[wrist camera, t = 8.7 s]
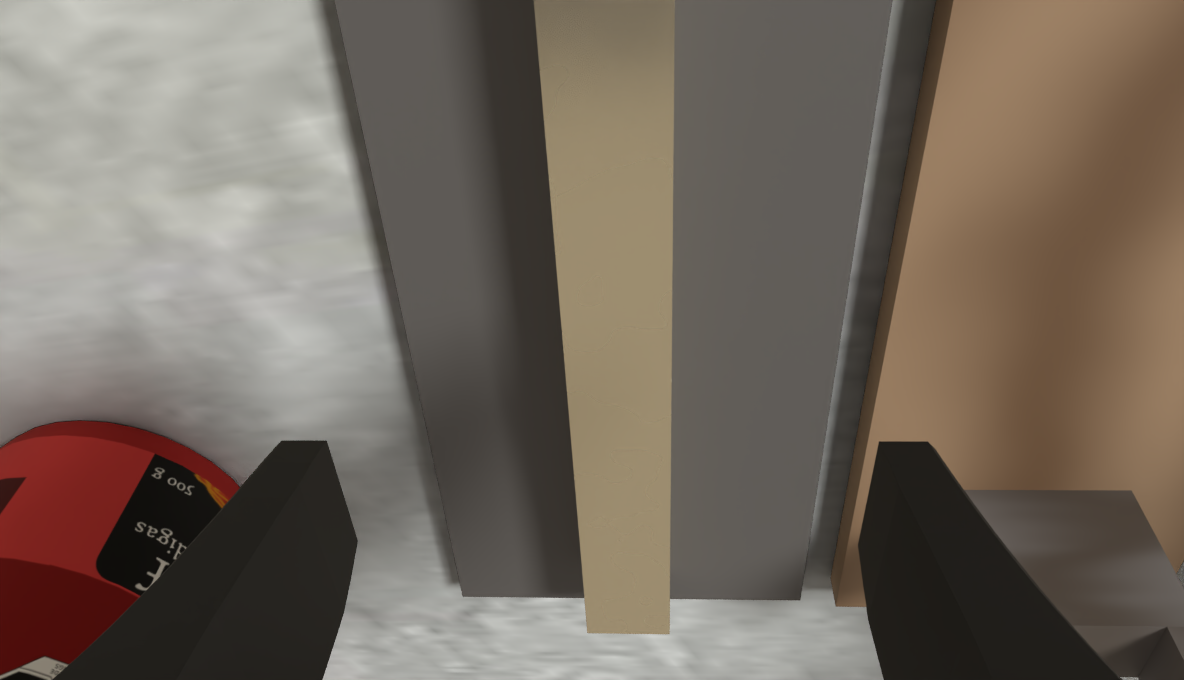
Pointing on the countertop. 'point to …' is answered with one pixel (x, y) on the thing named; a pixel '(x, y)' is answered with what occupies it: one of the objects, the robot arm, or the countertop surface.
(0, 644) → the canned food
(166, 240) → the countertop surface
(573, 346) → the rail
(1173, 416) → the rack
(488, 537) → the mat
